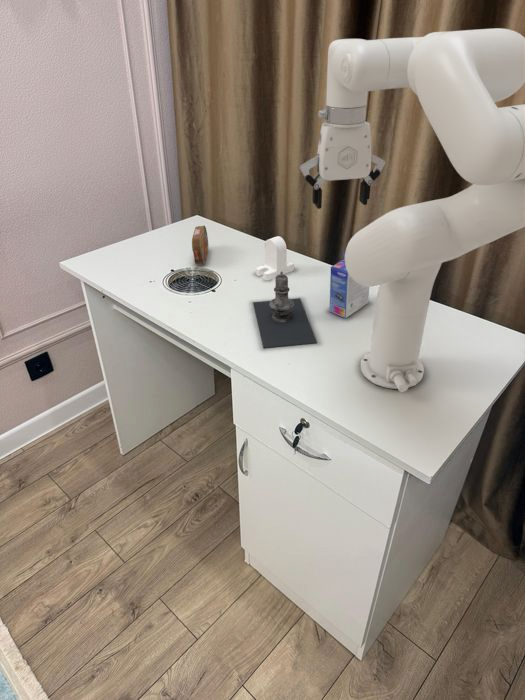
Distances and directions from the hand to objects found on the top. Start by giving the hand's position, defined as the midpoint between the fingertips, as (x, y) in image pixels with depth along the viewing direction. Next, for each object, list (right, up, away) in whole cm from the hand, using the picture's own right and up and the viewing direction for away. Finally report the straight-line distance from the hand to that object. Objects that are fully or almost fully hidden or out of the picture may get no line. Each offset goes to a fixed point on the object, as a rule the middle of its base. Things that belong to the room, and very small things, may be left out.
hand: (340, 204), depth 106 cm
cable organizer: (-13, -9, +36) cm, 39 cm away
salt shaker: (-12, -22, +17) cm, 30 cm away
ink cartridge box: (+5, -20, +20) cm, 28 cm away
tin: (-34, -3, +45) cm, 57 cm away
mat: (-11, -24, +15) cm, 30 cm away
